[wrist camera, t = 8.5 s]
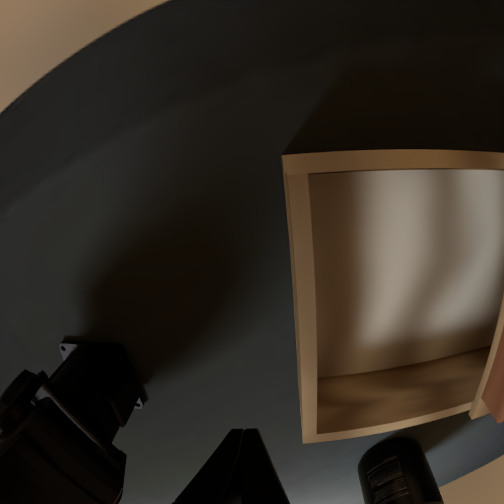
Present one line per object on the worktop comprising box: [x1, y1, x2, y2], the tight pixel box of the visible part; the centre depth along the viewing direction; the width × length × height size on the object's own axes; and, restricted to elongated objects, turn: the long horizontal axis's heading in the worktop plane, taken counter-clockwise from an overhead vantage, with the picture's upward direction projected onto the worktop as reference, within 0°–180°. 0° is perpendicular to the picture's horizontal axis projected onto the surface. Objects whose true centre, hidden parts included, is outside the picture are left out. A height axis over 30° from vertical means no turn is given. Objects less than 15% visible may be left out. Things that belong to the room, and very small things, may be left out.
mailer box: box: [281, 149, 504, 443], centre depth 17 cm, size 18×16×6 cm
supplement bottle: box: [358, 438, 444, 504], centre depth 19 cm, size 7×7×12 cm
